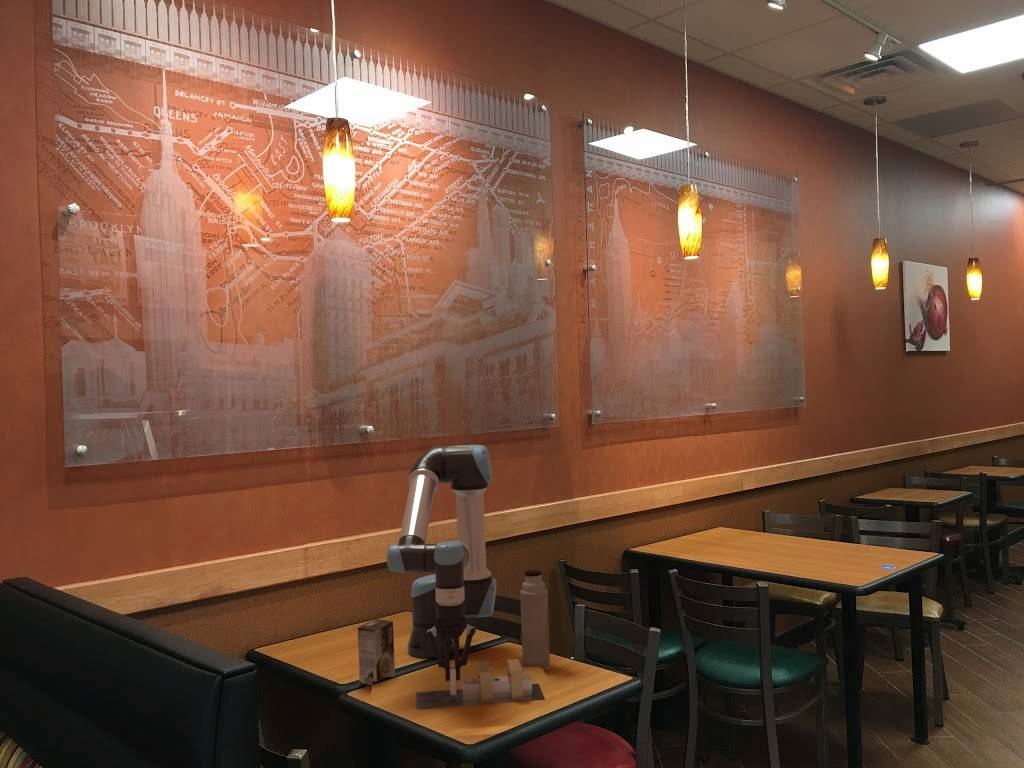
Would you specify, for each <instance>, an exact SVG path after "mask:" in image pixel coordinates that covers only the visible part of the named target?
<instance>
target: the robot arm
mask: <svg viewBox="0 0 1024 768" xmlns="http://www.w3.org/2000/svg"><path fill="white" fill-rule="evenodd" d="M493 479H494V477H493V465H492V460H491V456H490V451H489V449H488V448H487V447H486V446H485V445H482V444H459V445H457V444H456V445H454V444H453V445H437V446H433V447H431V448H429V449H428V450H426V451H425V452H423V453H422V454H421V455H419V457H418V458H417V459H416V460H415V461H414V463H413V465H412V466H411V468H410V471H409V474H408V479H407V481H408V485H409V491H408V495H407V499H406V500H407V501H406V506H405V509H404V513H403V518H402V524H401V526H400V527H401V529H400V533H399V537H398V542H397V543H395V544H390V545H389V546H388V548H387V550H386V551H387V552H386V563H387V564H386V565H387V568H388V570H389V571H390V572H393V573H401V574H402V573H403V574H404V573H425V572H426V573H427V572H428V573H435V574H429V575H425V576H422V577H419V578H417V579H415V580H414V581H413V582H412V584H411V594H410V597H411V613H412V614H411V615H412V617H411V618H412V629H411V633H410V636H409V638H408V641H407V642H408V643H407V653H408V655H410V656H411V657H415V658H421V659H431V658H432V659H433V658H436V661H437V665H438V667H439V668H441V669H442V668H443V669H444V674H445V677H444V678H445V682H449V690H450V694H451V695H456V690H457V681H460V680H461V668H462V667H465V666H467V664H468V660H469V654H470V650H471V644H472V639H473V637H474V636H475V634H476V632H477V631H476V627H475V626H473V625H470V624H468V621H467V619H466V618H477V619H479V618H489V617H490V616H492V614H493V612H494V608H495V601H496V595H497V579H496V578H492V572H491V571H490V570H489V569H488V568H487V553H486V552H487V550H486V527H485V525H486V524H485V503H484V502H485V500H484V499H485V496H484V494H485V492H486V491H487V489H488V488H489V483H491V482H493ZM440 484H450V490H451V491H453V492H454V494H455V501H456V525H457V527H456V528H457V530H456V531H457V540H454V541H443V542H439V543H427V537H428V532H429V531H428V530H429V525H430V520H431V515H432V514H431V513H432V509H433V502H434V498H435V492H436V490H437V489H438V488H439V486H440ZM464 632H466V636H465V640H464V641H465V642H464V647H463V651H462V657H461V655H460V637H461V636H462V634H464ZM451 654H454V665H451V658H450V655H451ZM442 657H444V660H443V659H442Z"/></svg>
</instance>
